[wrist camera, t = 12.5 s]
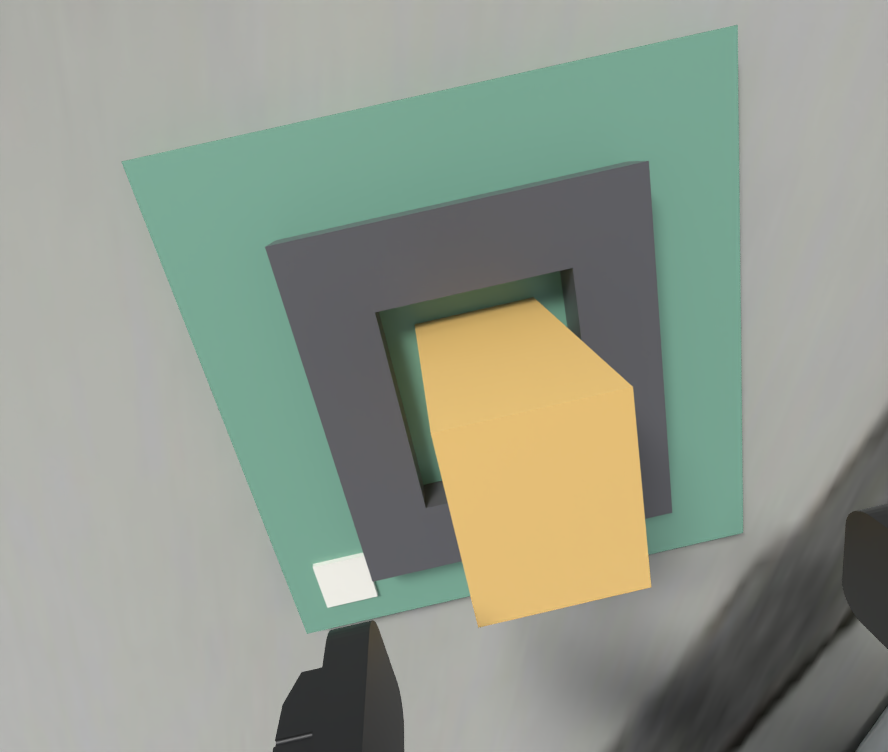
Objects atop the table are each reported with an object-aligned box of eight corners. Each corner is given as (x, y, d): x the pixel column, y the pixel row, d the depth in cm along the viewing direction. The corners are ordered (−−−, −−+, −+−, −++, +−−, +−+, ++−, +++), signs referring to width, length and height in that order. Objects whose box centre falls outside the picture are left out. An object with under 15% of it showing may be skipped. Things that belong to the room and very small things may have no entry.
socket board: (718, 33, 17) (770, 10, 14) (728, 518, 23) (766, 557, 21) (136, 161, 17) (95, 161, 14) (310, 614, 23) (301, 665, 21)
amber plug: (533, 297, 18) (632, 386, 11) (553, 430, 20) (651, 587, 12) (414, 324, 18) (430, 433, 11) (445, 455, 20) (478, 627, 12)
